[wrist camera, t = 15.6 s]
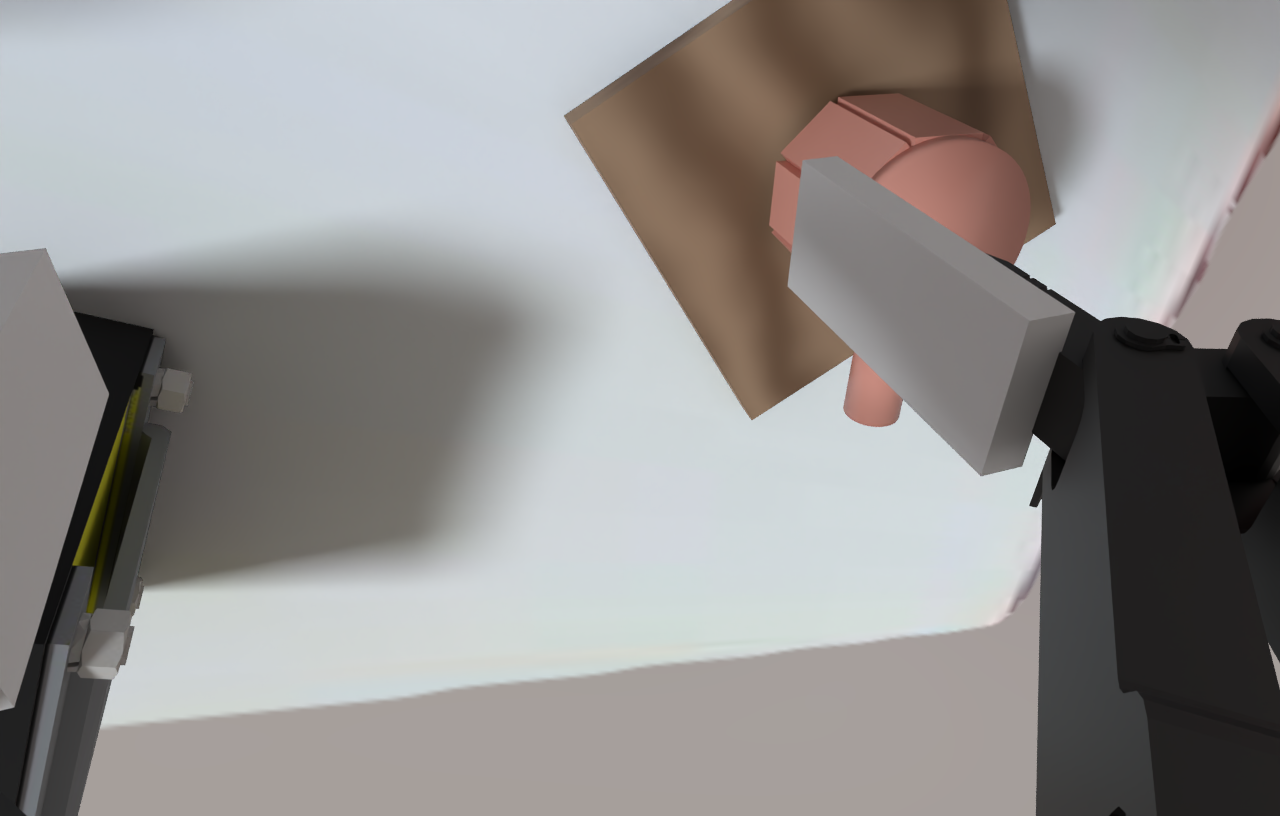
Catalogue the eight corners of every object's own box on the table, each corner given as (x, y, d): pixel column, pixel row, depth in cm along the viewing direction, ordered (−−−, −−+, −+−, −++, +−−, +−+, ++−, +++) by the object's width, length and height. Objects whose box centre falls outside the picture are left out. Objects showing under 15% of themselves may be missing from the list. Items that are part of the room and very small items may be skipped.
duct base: (742, 407, 54) (808, 499, 47) (563, 115, 41) (616, 180, 34) (1039, 215, 53) (1156, 278, 46) (954, -153, 40) (1101, -148, 32)
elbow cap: (783, 100, 41) (865, 149, 35) (950, 90, 44) (1055, 134, 37) (752, 372, 50) (814, 451, 44) (893, 351, 52) (971, 423, 46)
